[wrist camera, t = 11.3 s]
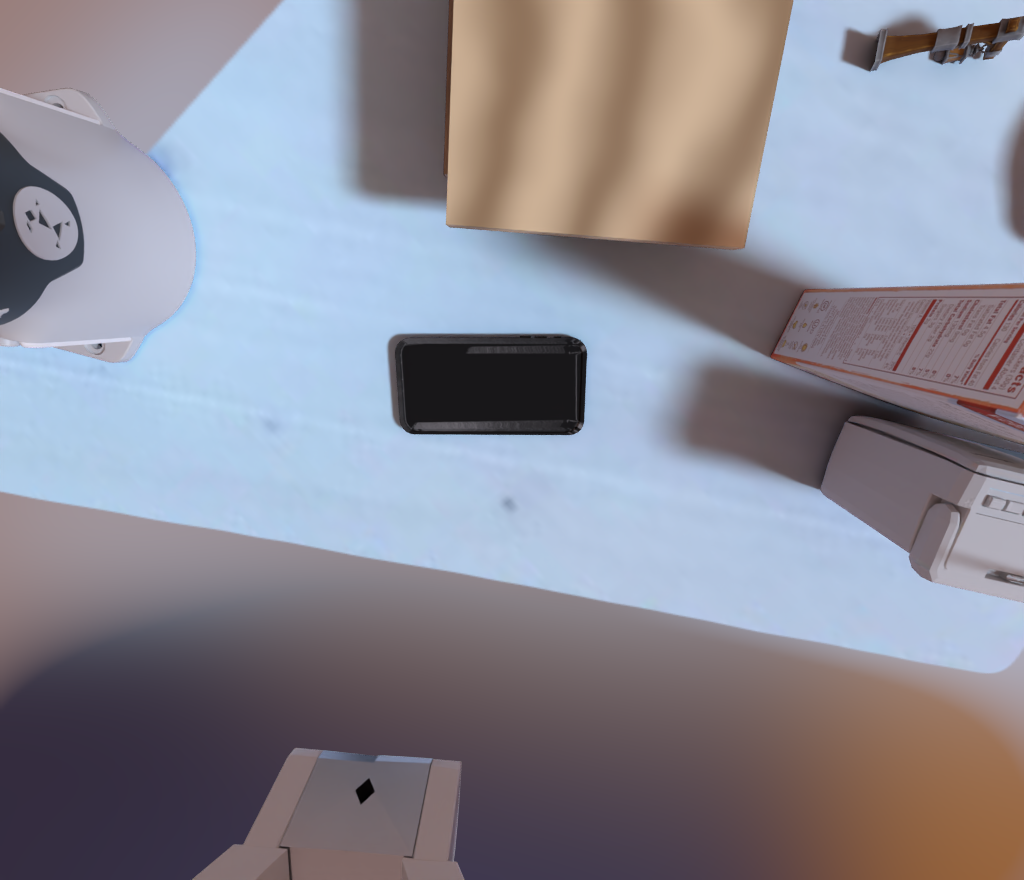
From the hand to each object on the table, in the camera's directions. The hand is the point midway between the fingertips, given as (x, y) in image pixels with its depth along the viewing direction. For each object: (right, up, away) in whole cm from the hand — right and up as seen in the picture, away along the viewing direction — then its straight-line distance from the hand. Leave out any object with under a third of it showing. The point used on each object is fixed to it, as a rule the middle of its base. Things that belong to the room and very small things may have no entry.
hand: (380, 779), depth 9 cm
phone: (+1, +11, +32) cm, 34 cm away
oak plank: (+8, +25, +21) cm, 33 cm away
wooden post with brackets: (+30, +32, +25) cm, 50 cm away
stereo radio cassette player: (+38, +3, +33) cm, 51 cm away
